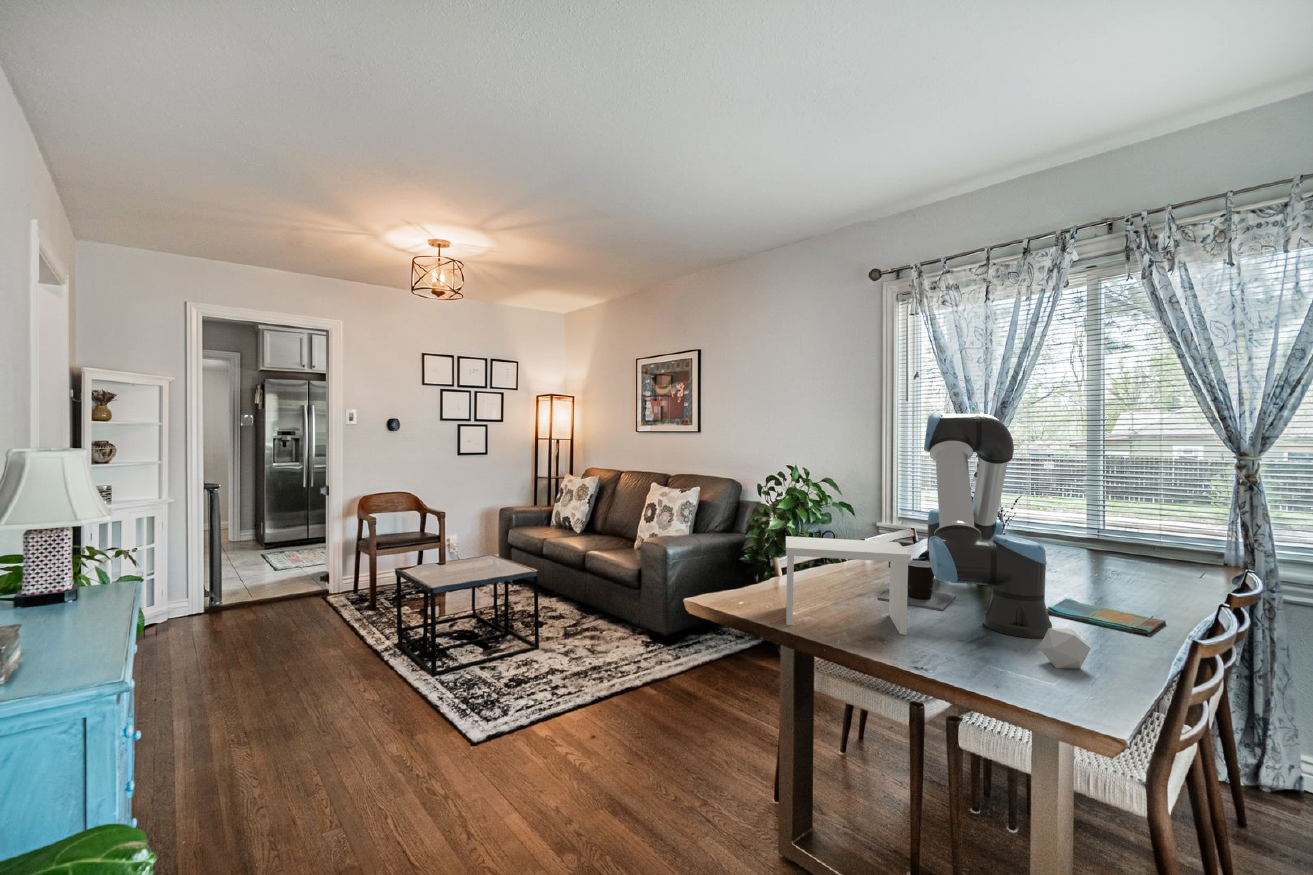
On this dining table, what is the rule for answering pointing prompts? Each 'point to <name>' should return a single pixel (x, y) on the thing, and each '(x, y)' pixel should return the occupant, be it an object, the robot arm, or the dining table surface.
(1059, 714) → the dining table surface
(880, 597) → the placemat
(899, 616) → the shelf stand
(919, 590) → the coffee mug
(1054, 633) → the die
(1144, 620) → the dish towel
